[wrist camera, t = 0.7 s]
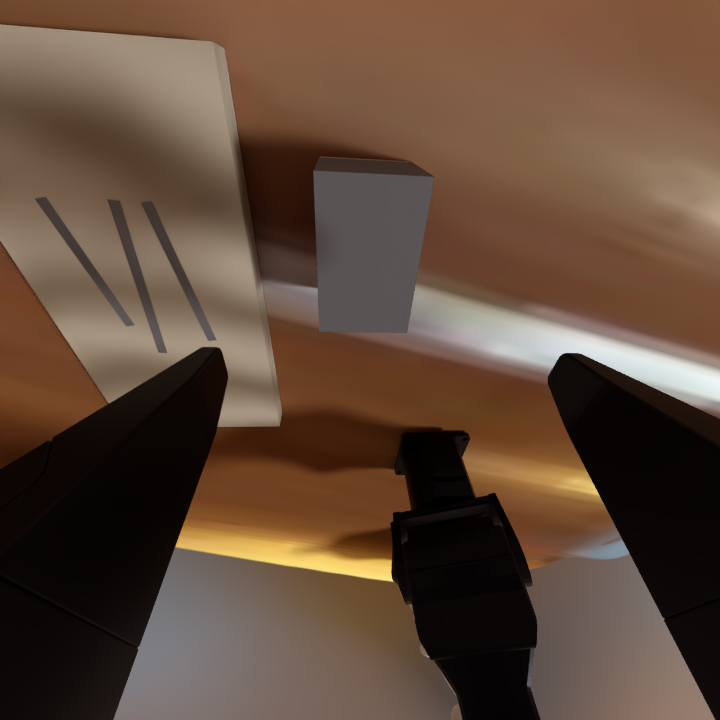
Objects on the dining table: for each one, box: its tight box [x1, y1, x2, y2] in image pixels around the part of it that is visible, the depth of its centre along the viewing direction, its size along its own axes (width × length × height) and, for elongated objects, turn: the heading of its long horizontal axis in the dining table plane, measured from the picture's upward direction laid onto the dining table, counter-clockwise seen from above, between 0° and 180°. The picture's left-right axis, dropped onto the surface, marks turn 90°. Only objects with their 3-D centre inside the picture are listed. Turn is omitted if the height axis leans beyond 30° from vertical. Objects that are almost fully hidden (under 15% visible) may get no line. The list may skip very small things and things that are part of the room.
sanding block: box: [313, 156, 434, 333], centre depth 15 cm, size 7×4×5 cm, turn 177°
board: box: [0, 25, 282, 427], centre depth 18 cm, size 22×12×2 cm, turn 177°
